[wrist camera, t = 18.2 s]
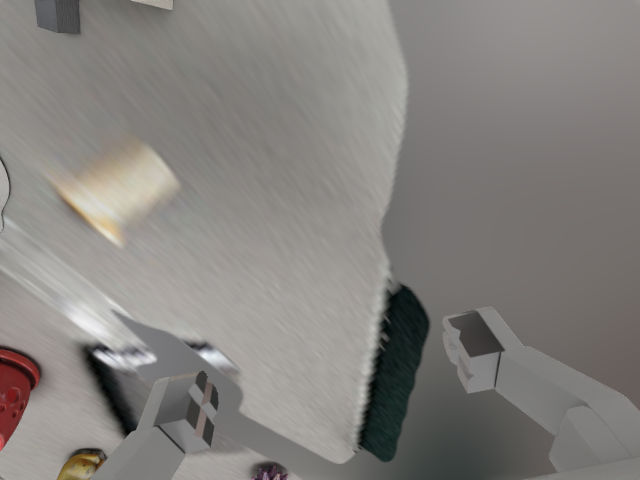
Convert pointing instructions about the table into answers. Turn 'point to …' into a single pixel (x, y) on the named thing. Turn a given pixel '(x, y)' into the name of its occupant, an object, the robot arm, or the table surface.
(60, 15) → the rail
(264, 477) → the purple spiky ball
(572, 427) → the robot arm
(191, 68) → the table surface
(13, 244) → the table surface
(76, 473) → the decorative figurine
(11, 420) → the plant pot
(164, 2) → the carton
